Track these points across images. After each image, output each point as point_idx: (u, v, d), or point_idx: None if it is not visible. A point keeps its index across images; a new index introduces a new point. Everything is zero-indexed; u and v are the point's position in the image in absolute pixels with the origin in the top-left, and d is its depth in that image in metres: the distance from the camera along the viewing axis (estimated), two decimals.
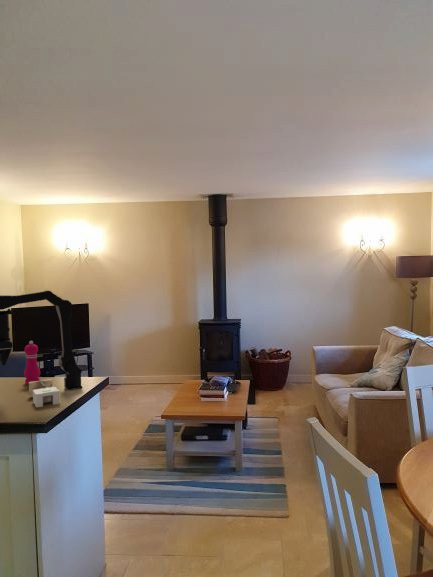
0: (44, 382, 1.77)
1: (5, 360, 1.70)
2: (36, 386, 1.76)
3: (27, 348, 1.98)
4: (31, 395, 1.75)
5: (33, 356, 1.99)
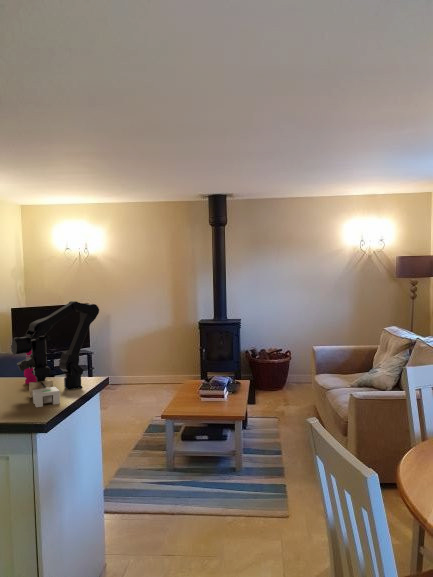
0: (44, 383, 1.76)
1: None
2: (37, 387, 1.75)
3: None
4: (31, 396, 1.74)
5: None
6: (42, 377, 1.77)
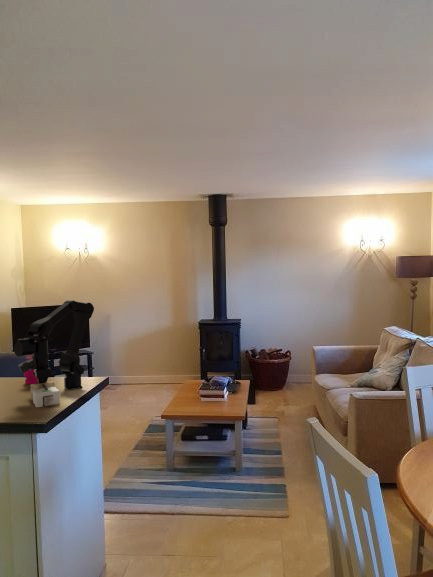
0: (46, 384, 1.73)
1: None
2: None
3: None
4: None
5: None
6: (44, 379, 1.74)
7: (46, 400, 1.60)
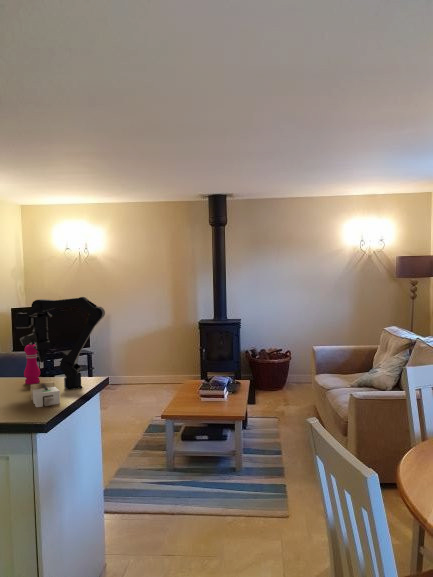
0: (46, 384, 1.73)
1: (43, 358, 1.87)
2: None
3: (27, 348, 1.98)
4: None
5: (33, 356, 1.99)
6: (44, 352, 1.87)
7: (46, 400, 1.60)
